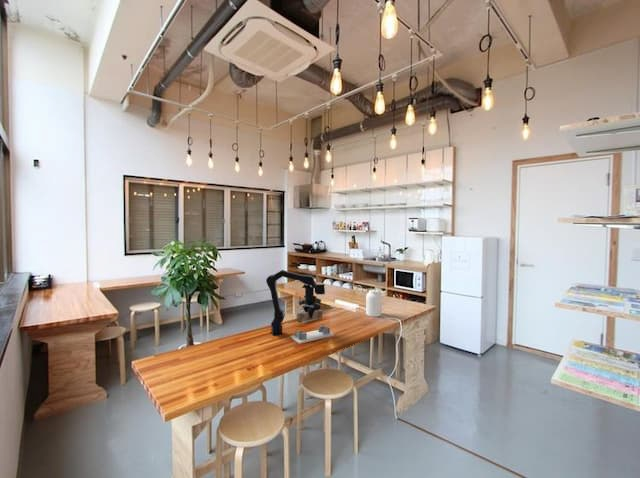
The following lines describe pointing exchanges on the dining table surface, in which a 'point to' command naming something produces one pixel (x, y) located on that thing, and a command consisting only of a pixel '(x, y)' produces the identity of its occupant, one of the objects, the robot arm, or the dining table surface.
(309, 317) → the slat
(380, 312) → the can
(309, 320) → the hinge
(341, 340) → the dining table surface
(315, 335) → the end cap plate
